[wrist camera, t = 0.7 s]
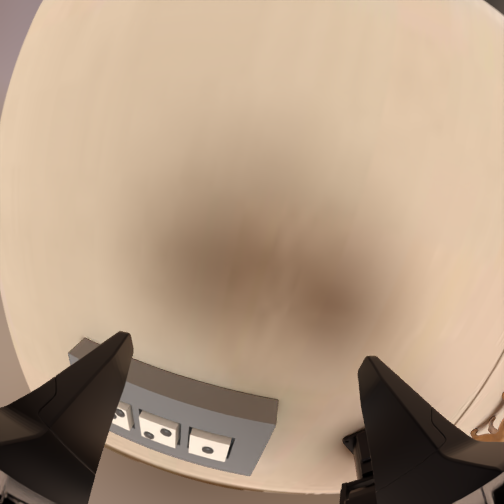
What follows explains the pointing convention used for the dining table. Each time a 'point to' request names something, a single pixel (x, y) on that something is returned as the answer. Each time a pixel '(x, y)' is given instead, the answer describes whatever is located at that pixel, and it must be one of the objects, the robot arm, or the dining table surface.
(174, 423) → the tile two
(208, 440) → the tile one
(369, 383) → the robot arm
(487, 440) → the lion figurine
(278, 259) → the dining table surface
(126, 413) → the tile three
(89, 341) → the tile board
